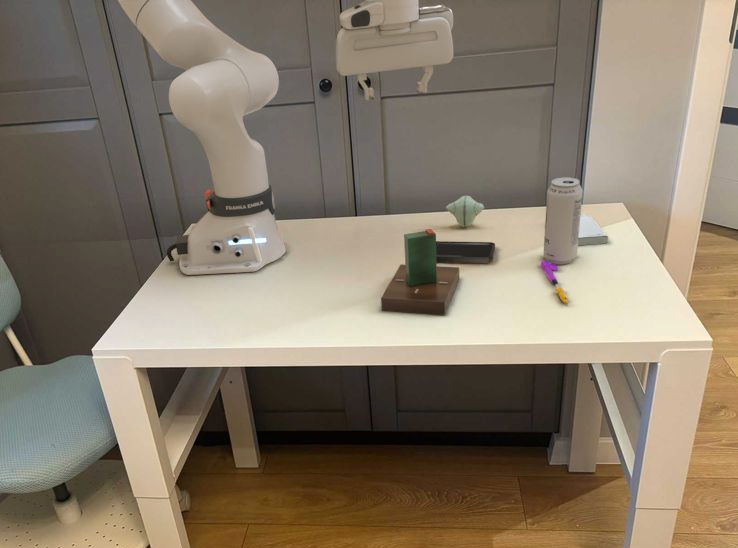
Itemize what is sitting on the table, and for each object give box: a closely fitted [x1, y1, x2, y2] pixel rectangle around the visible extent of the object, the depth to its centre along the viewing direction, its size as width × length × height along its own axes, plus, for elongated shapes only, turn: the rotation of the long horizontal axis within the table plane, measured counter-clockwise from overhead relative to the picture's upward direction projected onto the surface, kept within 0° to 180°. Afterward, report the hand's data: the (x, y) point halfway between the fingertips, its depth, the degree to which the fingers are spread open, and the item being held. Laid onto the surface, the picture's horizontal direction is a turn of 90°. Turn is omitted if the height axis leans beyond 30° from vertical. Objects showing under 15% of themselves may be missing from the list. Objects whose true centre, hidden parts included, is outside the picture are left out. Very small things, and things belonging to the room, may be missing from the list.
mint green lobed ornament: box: [445, 195, 485, 228], centre depth 151 cm, size 8×4×7 cm, turn 74°
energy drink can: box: [542, 176, 584, 265], centre depth 130 cm, size 6×6×15 cm
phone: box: [436, 240, 496, 264], centre depth 140 cm, size 8×1×15 cm
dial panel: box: [380, 264, 460, 316], centre depth 126 cm, size 14×11×3 cm
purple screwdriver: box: [540, 260, 569, 304], centre depth 125 cm, size 3×1×16 cm
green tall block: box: [403, 228, 437, 286], centre depth 124 cm, size 5×2×9 cm, turn 101°
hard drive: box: [578, 213, 609, 246], centre depth 144 cm, size 2×8×12 cm
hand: (395, 96), depth 126 cm, fingers open, 8 cm apart
